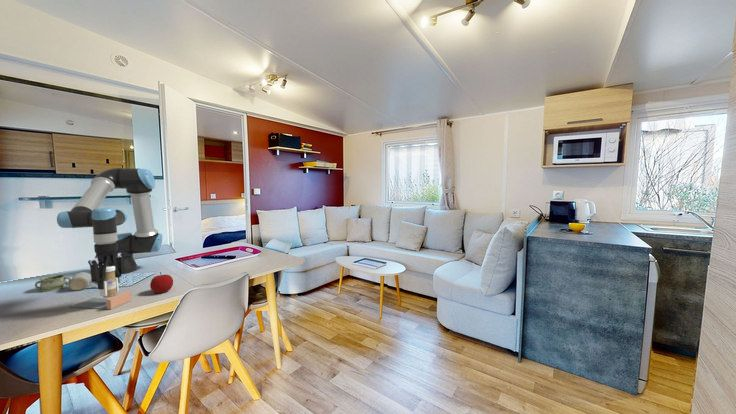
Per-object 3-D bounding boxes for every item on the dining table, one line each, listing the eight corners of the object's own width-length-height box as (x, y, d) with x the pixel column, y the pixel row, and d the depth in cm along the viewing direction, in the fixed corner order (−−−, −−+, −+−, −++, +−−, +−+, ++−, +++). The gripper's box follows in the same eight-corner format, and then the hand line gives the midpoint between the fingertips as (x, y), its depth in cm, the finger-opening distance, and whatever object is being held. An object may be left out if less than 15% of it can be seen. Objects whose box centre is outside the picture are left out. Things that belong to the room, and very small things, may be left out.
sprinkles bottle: (106, 298, 118) (104, 268, 117) (100, 296, 120) (98, 267, 119) (119, 294, 122) (117, 266, 121) (113, 293, 124) (111, 264, 123)
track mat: (93, 298, 127) (92, 289, 127) (131, 300, 125) (130, 291, 125) (70, 306, 118) (69, 297, 118) (111, 309, 116) (110, 300, 116)
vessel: (34, 294, 130) (33, 282, 130) (36, 289, 136) (35, 277, 136) (70, 288, 139) (69, 276, 138) (71, 283, 145) (70, 272, 144)
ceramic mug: (67, 292, 133) (66, 277, 132) (72, 287, 140) (71, 273, 139) (97, 288, 139) (97, 274, 139) (100, 283, 146) (100, 269, 145)
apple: (149, 296, 130) (148, 276, 129) (152, 290, 137) (151, 271, 137) (172, 292, 135) (171, 273, 134) (174, 286, 142) (173, 268, 141)
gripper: (118, 238, 128) (121, 285, 130) (75, 246, 111) (79, 301, 113) (132, 238, 127) (135, 286, 129) (91, 247, 110) (95, 302, 112)
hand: (109, 293), depth 121 cm, fingers closed on sprinkles bottle, 4 cm apart
